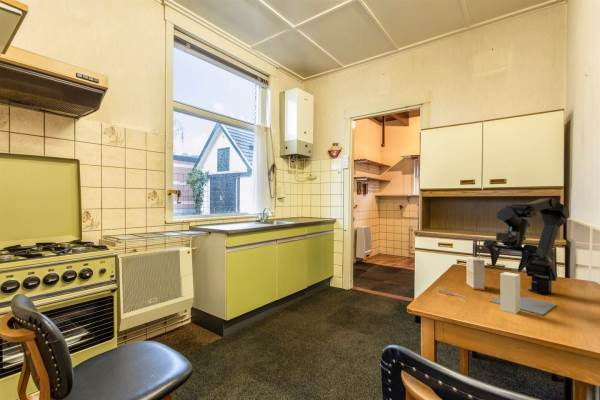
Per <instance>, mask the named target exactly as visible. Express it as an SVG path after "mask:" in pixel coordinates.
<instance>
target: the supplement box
mask: <svg viewBox="0 0 600 400" xmlns="http://www.w3.org/2000/svg"><path fill="white" fill-rule="evenodd" d="M485 280H486V279H485V259H482V258H480V257H478V256H466V285H467V286H468V287H470V288H471V289H472V290H477V291H478V290H481V291H485Z"/></svg>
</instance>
